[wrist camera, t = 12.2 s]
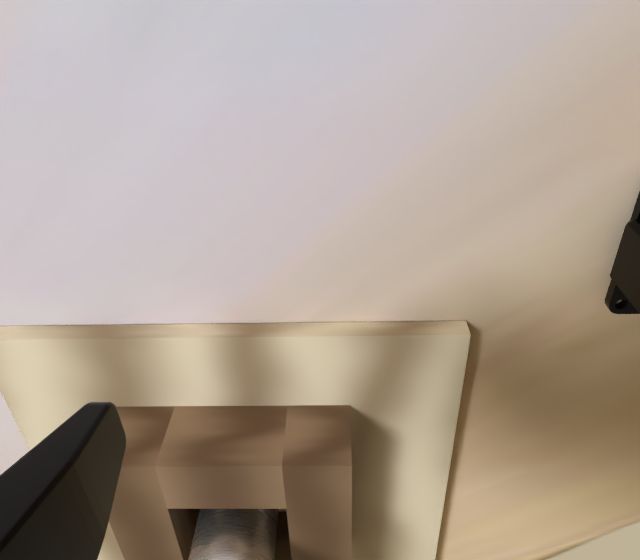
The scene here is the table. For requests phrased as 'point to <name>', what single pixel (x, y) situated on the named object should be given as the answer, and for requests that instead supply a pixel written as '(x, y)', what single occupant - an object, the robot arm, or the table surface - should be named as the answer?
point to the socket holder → (258, 427)
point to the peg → (235, 534)
